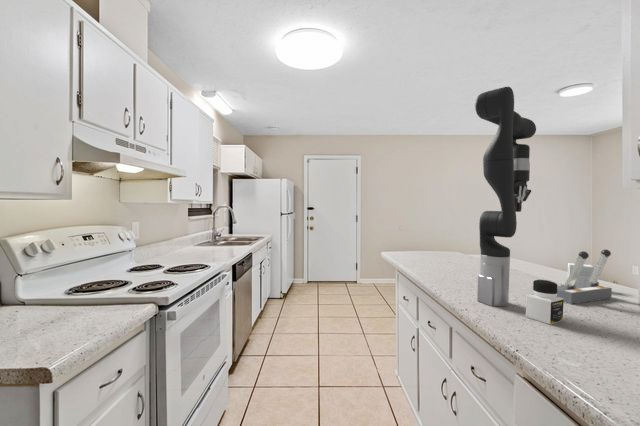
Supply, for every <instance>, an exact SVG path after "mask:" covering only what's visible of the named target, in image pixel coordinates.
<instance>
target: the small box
mask: <svg viewBox="0 0 640 426" xmlns="http://www.w3.org/2000/svg"><path fill="white" fill-rule="evenodd" d="M574 264H575V262H574V263H572V262H568V263H567V279H568V277H569V275H570V273H571V271H572V269H573V266H574ZM594 268H595V266H593V265H592V264H585V263H584V265H583V267H582V269H581V271H580V273H579V275H578V277H577V279H576V281H575V283H574V284H583V283H584V282H588V281H589V279H590V277H591V275H592V272H593V270H594ZM567 279H566V280H567Z"/></svg>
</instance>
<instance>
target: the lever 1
mask: <svg viewBox="0 0 640 426" xmlns="http://www.w3.org/2000/svg"><path fill="white" fill-rule="evenodd" d="M589 257H590V256H589V253H588V252H586V251H584V250H583V251H579V253H578V257H577V258H576V260H575V262H574V263H575V264H574V266H573V269H572V271H571V273H570V275H569V277H568V279H566V282H565V283H564V285H568V289H571V288H573V285H574V283H575V281H576V279H577V277H578V275H579V273H580V271H581V269H582V267H583V265H584V264H585V263H586V261H587V259H589Z"/></svg>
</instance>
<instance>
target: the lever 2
mask: <svg viewBox="0 0 640 426" xmlns="http://www.w3.org/2000/svg"><path fill="white" fill-rule="evenodd" d="M611 255H612V252H611V251H610V250H608V249H602V250H601V251H600V256H599V257H598V259H597V261H596V264H595V266H594V270H593V272H592V275H591V277H590V279H589V281H588V282H590V283H592V286H595V285H596V283H597V282H599V278H600V276H601V274H602V271H603V270H604V268H605V266H606V263H607V261H608V259H609V257H610V256H611Z"/></svg>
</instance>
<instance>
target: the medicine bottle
mask: <svg viewBox="0 0 640 426" xmlns="http://www.w3.org/2000/svg"><path fill="white" fill-rule="evenodd" d="M532 285H533V286H532V293H530V294H526V300H525V317H526V318H529V319H531V320H535V321H538V322H541V323H545V324H547V325H551V326H552V325H554V324H557V323H560V322H563V320H564V319H563V318H564V302H563V301H564V299H563V298H560V297H556V296H557V286H558V283H556V282H554V281H552V280H549V279H536V280H533V281H532Z"/></svg>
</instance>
